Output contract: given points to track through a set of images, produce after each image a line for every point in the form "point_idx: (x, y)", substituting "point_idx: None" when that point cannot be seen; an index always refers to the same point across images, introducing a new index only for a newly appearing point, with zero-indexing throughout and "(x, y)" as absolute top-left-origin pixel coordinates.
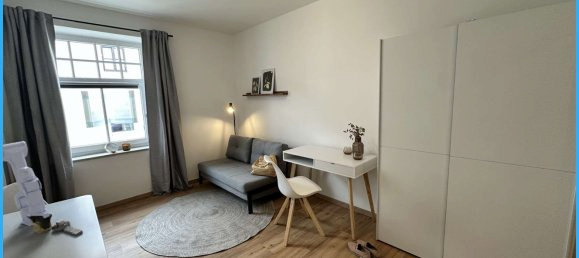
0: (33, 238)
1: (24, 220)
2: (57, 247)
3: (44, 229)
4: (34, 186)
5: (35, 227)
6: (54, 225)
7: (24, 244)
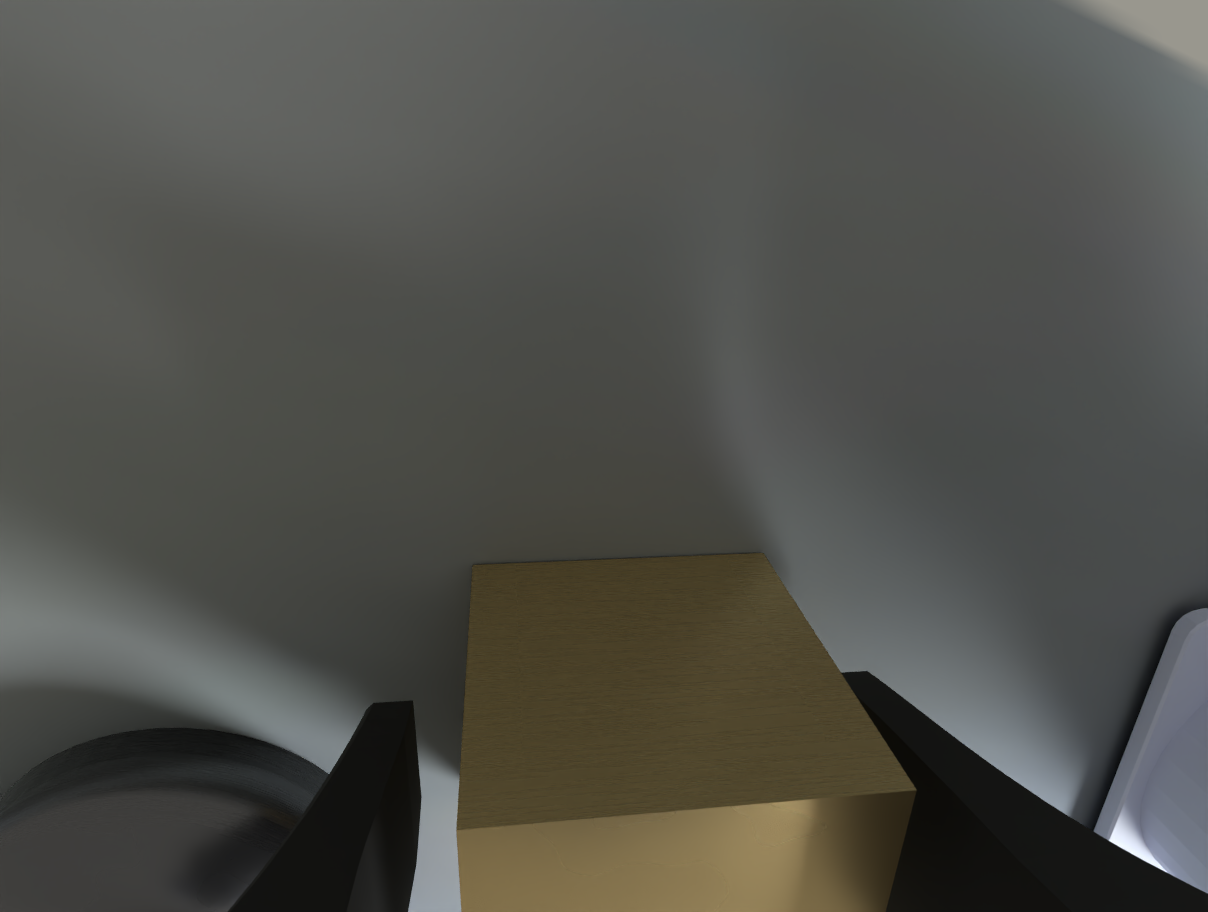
0: (338, 370)
1: None
2: None
3: (363, 716)
4: None
5: (679, 664)
6: None
7: (146, 49)
